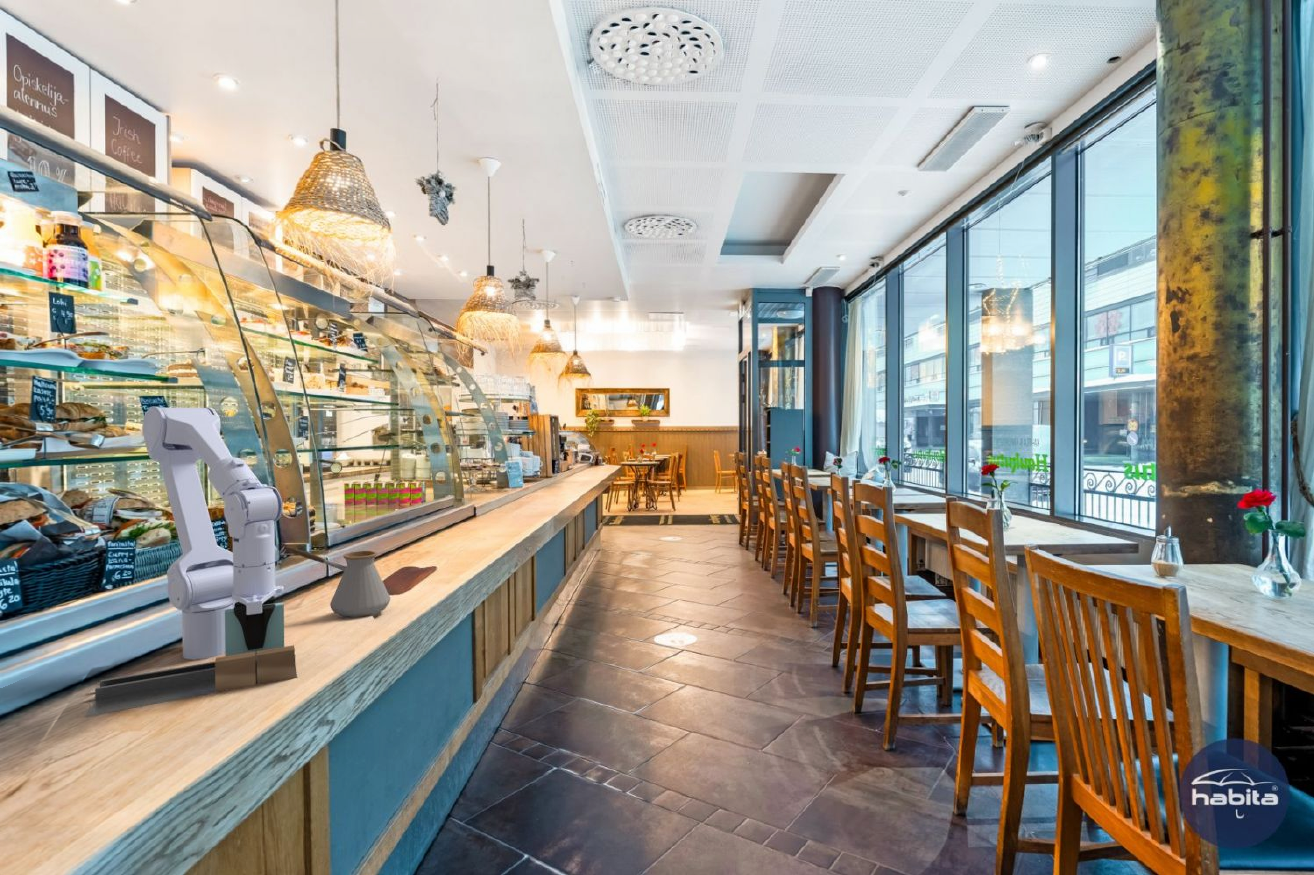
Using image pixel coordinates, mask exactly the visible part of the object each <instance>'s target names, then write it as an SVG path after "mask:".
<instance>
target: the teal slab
mask: <svg viewBox="0 0 1314 875" xmlns="http://www.w3.org/2000/svg"><path fill="white" fill-rule="evenodd" d="M274 604H275V609H274V611H273V613H272V615H271V617H270V619H269V622H268V626H267V631H266V637H265V642H264V646H263V648H259V649H253V650H248V649H247V646H246V643H245V638H244V634H243V630H242V627H241V624H240V622H239V620H238V619H237V617H236V616H235V614H234V608H233V609H226V610H225V656H231V655H237V654H243V653H249V652H255V661H257V651H262V650H268V649H274V648H280V647H285V605H284V604H285V603H284V602H274ZM266 605H269V604H266ZM225 656H224V657H225Z"/></svg>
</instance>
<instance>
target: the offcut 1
mask: <svg viewBox="0 0 1314 875" xmlns="http://www.w3.org/2000/svg"><path fill="white" fill-rule="evenodd" d="M214 662H215V688H216V692H218V693H222V692H221V691H224V692H227V691H226V690H229V691H232V690H231V689H234V690H238V689H237V688H240V689H243V688H242V687H245V688H249V687H248V686H251V687H254V686H253V685H256V666H255V652H249V653H243V654H237V655H231V656H217V657H215V660H214ZM256 686H257V685H256Z"/></svg>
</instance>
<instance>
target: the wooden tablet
mask: <svg viewBox="0 0 1314 875" xmlns="http://www.w3.org/2000/svg"><path fill="white" fill-rule="evenodd" d="M437 570H438V567H437V566H436V565H432V566H431V565H430V566H426V567H419V566H413V565H412V566H411V565H407V566H403V567H400V568H399V569H397V570H395V571H394V572H393V573H391V574H390V575H388V576H387V577H386V578H384V579H382V581H383V583H384V585H385V588H386V590H387V592H388V594H389V596H398V595H399V596H401V595H403V594H405V593H407V592H410V591H411V590H412V589H414V587H416V586H417V585H418V584H419V583H420V582H421V581H423V580H424V579H426V578H427V577H428V576H430V575H432V574H433V573H434V572H435V571H437Z"/></svg>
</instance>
